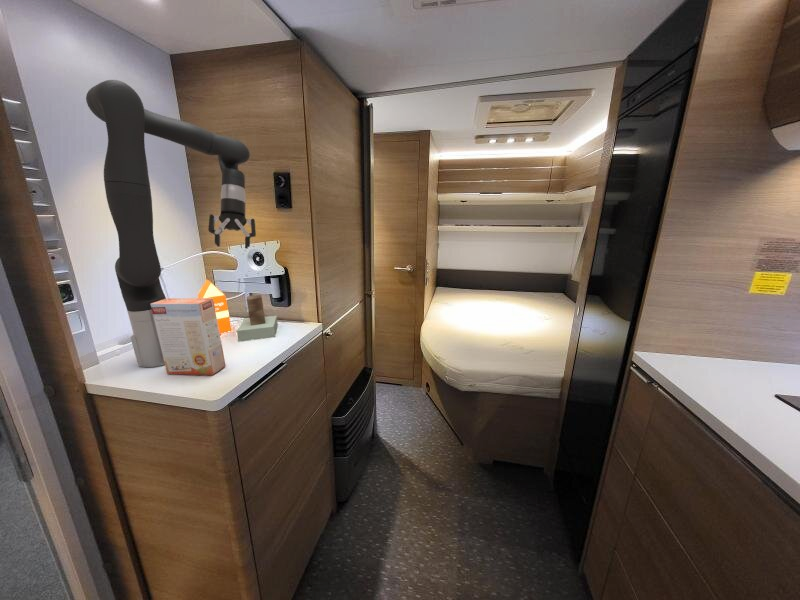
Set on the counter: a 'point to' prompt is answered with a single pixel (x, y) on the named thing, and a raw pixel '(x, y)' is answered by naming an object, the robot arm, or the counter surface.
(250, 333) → the green base
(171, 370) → the cracker box
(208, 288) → the orange juice
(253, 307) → the walnut block
